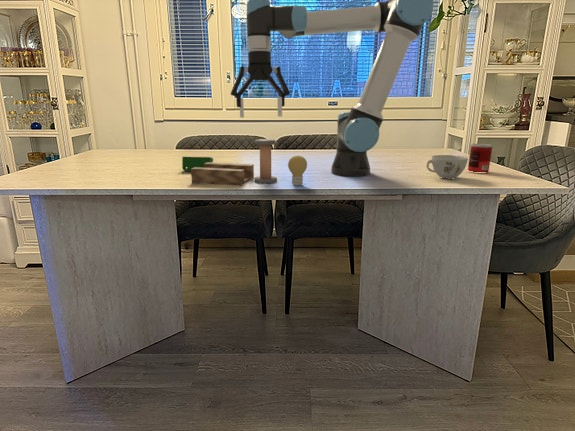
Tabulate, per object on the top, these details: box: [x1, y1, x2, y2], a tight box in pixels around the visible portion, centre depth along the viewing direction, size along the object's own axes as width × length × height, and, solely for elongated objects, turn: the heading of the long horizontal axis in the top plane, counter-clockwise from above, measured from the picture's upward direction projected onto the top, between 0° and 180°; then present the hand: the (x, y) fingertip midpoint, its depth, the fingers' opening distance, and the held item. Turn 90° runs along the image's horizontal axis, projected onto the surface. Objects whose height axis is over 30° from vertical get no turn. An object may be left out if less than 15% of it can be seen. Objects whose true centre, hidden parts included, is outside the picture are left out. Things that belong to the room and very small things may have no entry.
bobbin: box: [253, 138, 278, 185], centre depth 140 cm, size 8×8×14 cm
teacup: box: [426, 154, 469, 179], centre depth 149 cm, size 15×12×8 cm
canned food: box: [467, 143, 493, 173], centre depth 161 cm, size 8×8×11 cm
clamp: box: [181, 156, 214, 172], centre depth 161 cm, size 12×6×9 cm, turn 80°
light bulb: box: [287, 155, 308, 187], centre depth 136 cm, size 6×6×10 cm
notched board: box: [190, 162, 255, 187], centre depth 143 cm, size 18×14×5 cm
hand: (261, 117), depth 139 cm, fingers open, 13 cm apart
